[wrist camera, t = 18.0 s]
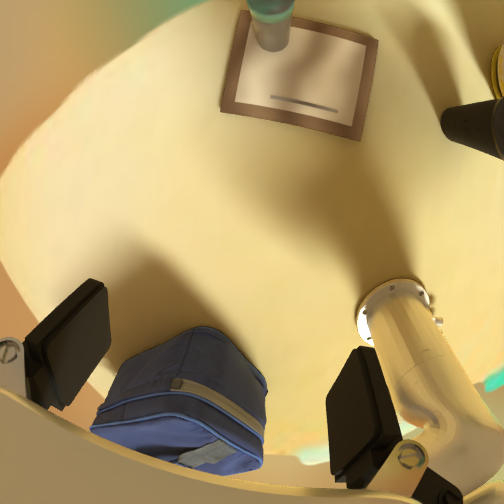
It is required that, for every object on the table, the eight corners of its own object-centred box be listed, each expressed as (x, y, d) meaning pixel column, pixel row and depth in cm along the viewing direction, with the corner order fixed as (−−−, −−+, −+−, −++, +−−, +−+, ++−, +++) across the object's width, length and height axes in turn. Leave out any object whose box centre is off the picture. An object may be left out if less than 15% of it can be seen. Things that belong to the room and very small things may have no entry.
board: (375, 42, 28) (379, 39, 26) (357, 141, 33) (360, 141, 32) (242, 13, 28) (241, 9, 26) (222, 112, 33) (219, 111, 32)
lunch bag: (172, 423, 60) (149, 494, 41) (104, 368, 54) (63, 440, 36) (283, 386, 51) (280, 484, 32) (208, 309, 45) (170, 417, 26)
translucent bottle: (291, 31, 27) (297, -17, 15) (286, 57, 29) (290, 18, 17) (260, 26, 27) (250, -23, 15) (254, 51, 29) (242, 12, 17)
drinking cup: (464, 93, 28) (567, 92, 10) (478, 144, 31) (580, 172, 12) (424, 103, 30) (529, 100, 12) (441, 157, 32) (544, 192, 14)
